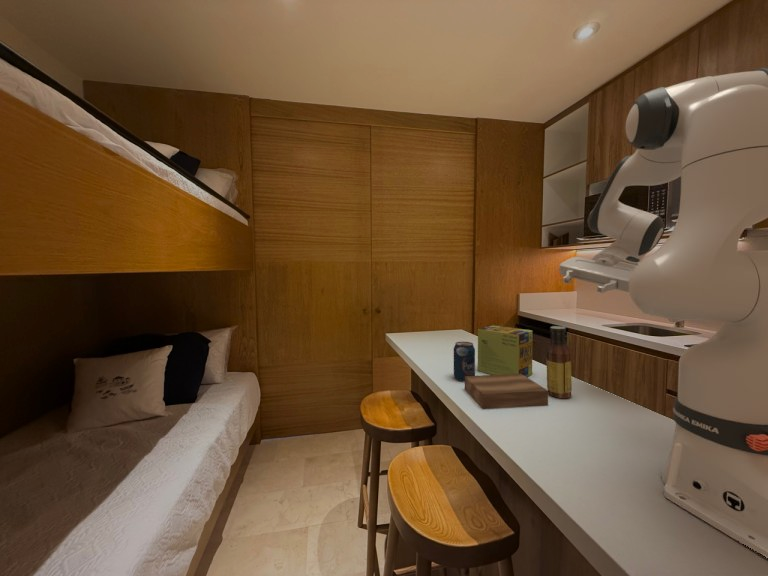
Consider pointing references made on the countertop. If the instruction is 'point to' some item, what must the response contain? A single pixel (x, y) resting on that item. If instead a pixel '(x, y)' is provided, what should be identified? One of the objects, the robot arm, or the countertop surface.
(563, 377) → the sauce bottle
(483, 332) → the protein box
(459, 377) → the soda can
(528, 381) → the walnut stand
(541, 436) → the countertop surface
